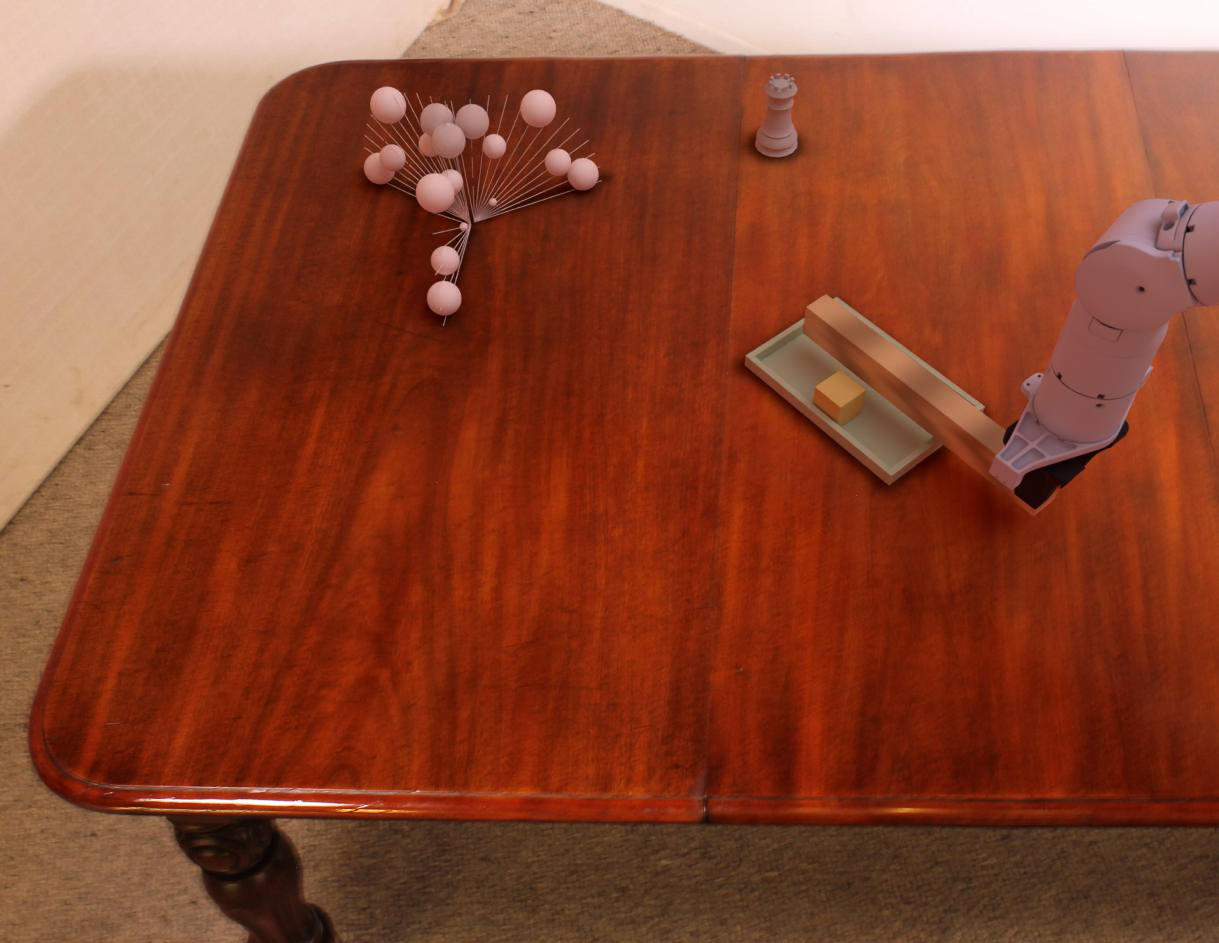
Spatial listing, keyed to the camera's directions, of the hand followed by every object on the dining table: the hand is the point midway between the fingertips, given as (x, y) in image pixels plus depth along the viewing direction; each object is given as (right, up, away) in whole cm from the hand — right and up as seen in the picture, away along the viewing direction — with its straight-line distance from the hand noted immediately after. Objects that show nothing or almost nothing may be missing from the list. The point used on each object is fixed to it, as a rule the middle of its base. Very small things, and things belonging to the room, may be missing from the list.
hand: (1040, 488), depth 81 cm
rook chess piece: (-15, +35, +33) cm, 51 cm away
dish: (-11, +8, +12) cm, 18 cm away
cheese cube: (-13, +6, +10) cm, 18 cm away
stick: (-7, +6, +7) cm, 12 cm away
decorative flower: (-47, +24, +26) cm, 59 cm away
